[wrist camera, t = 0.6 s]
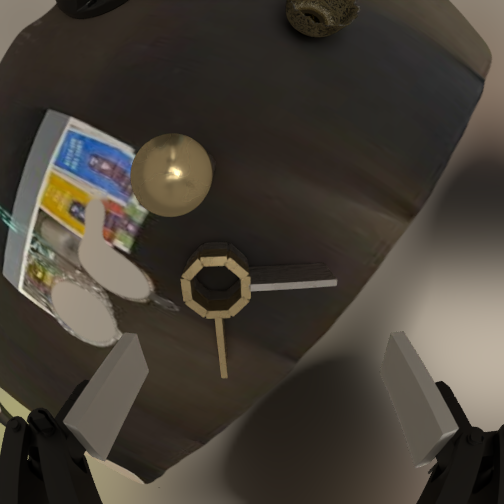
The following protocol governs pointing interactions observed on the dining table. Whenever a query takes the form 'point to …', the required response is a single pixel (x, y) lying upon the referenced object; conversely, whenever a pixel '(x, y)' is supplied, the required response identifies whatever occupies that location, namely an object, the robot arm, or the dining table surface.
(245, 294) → the ring holder
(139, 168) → the hinge pin
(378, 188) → the dining table surface
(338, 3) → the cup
